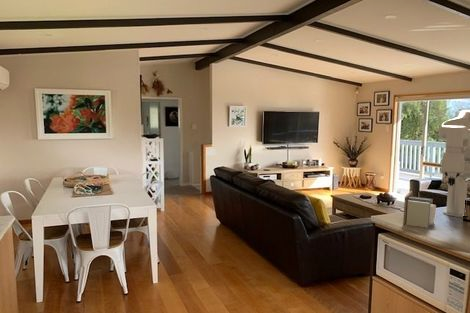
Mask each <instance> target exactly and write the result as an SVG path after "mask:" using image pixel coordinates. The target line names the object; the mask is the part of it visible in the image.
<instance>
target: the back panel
mask: <svg viewBox="0 0 470 313" xmlns="http://www.w3.org/2000/svg"><path fill="white" fill-rule="evenodd" d="M409 197H413V191H412V190H410V191H409V192H408V193H407V194H406V195H405V196H404V203H403V204H404V206H403V221H402V222H403V224H402V225H406V221H407V205H408V200H409Z"/></svg>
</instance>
